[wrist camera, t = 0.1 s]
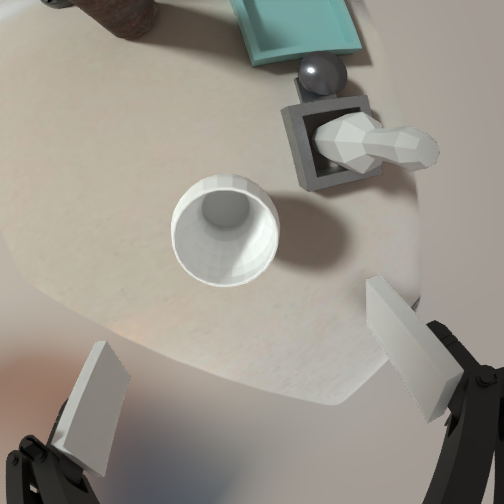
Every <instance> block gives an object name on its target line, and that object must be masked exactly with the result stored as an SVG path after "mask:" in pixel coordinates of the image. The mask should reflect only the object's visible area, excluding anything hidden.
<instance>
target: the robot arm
mask: <svg viewBox="0 0 504 504" xmlns="http://www.w3.org/2000/svg"><path fill="white" fill-rule="evenodd" d="M41 1H42V2H43V3H44V4H46V5H47V6H49V7H51V8H63V7H67V6H70V5H72V4H73V3H71V2H70V1H69V0H41ZM366 309H367V326H368V327H369V329H370V330H371V332H372V333H373V335H374V336H375V338H376V339H377V341H378V342H379V344H380V346H381V347H382V349H383V350H384V352H385V353H386V355H387V357H388V358H389V360H390V361H391V363H392V364H393V366H394V368H395V369H396V371H397V373H398V374H399V376H400V377H401V379H402V381H403V382H404V384H405V386H406V387H407V389H408V391H409V392H410V394H411V396H412V397H413V399H414V401H415V402H416V404H417V406H418V408H419V409H420V411H421V413H422V415H423V416H424V418H425V420H426V422H427V423H429V422H431V421H433V420H434V419H436V418H438V417H440V416H441V415H443V414H444V412H445V410H446V408H447V406H448V408H449V409H450V411H451V414H450V415H449V417H448V419H447V421H446V423H445V426H447V424H448V426H447V431H446V435H445V438H444V442H443V446H442V450H441V453H440V456H439V460H438V463H437V466H436V469H435V472H434V475H433V478H432V480H431V483H430V486H429V488H428V491H427V493H426V496H425V498H424V501H423V503H422V504H481V502H482V499H483V495H484V492H485V489H486V485H487V481H488V477H489V473H490V468H491V464H492V459H493V453H494V452H495V488H494V503H493V504H504V367H502V368H499V369H494V368H493V367H492V366H488V365H480V364H479V363H478V362H477V361H476V360H475V358H474V357H473V356H472V355H471V354H470V353H469V351H467V349H466V348H465V347H464V346H463V345H462V344H461V342H460V341H458V339H457V338H456V337H455V336H454V335H452V332H450V330H449V329H448V328H447V327H446V326H445V325H443V324H441V323H439V322H438V321H436V320H434V321H432V322H430V323H428V324H425V323H424V322H423V321H422V320H421V319H420V318H419V316H418V315H417V314H416V313H415V312H414V311H413V310H412V309H411V308H410V306H409V305H408V304H407V303H406V302H405V301H404V300H403V299H402V298H401V297H400V296H399V295H398V293H397V292H396V291H395V290H394V289H393V288H392V287H391V286H390V285H389V284H388V283H387V282H386V281H385V280H384V279H383V278H382V277H381V276H380V275H378V276H375V277H372V278H369V279H366ZM130 377H131V376H130V374H129V373H128V372H127V370H126V369H125V368H124V366H123V365H122V363H121V362H120V360H119V359H118V357H117V356H116V354H115V353H114V351H113V350H112V348H111V347H110V345H109V343H108V342H107V341H100V342H96V343H95V345H94V347H93V348H92V351H91V352H90V354H89V356H88V358H87V361H86V363H85V365H84V367H83V369H82V371H81V373H80V375H79V377H78V379H77V382H76V384H75V386H74V388H73V390H72V393H71V395H70V397H69V398H68V399H67V400H66V401H65V402H64V404H63V405H62V407H61V409H60V411H59V414H58V415H59V416H57V418H56V422H55V423H54V426H53V428H52V431H51V434H50V436H49V439H48V442H47V444H46V446H45V445H44V444H43V443H42V442H40V441H39V440H38V439H37V438H36V437H35V436H33V435H28V436H25V437H24V438H23V439H22V440H21V442H20V445H19V451H18V450H13V451H12V452H10V453H9V454H8V457H7V461H6V499H7V504H100V503H99V501H98V499H97V498H96V496H95V494H94V492H93V490H92V488H91V486H90V484H89V482H88V479H87V478H86V476H85V475H84V474H82V473H83V470H85V471H87V472H88V473H90V474H91V475H94V476H100V477H105V472H106V468H107V463H108V458H109V454H110V450H111V446H112V442H113V438H114V434H115V429H116V426H117V422H118V419H119V415H120V411H121V408H122V404H123V401H124V397H125V394H126V391H127V387H128V384H129V381H130ZM30 485H32V486H33V487H34V488H36V489H37V493H35V492H33V491H32V490H30Z"/></svg>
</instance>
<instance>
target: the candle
mask: <svg viewBox="0 0 504 504" xmlns="http://www.w3.org/2000/svg"><path fill="white" fill-rule="evenodd" d="M69 1H70V2H71V3H73V4H74V5H75V6H77V7H79V8H80V9H81V10H83V11H84V12H85V13H86V14H88V15H89V16H91V17H92V18H93V19H94V20H96V21H97V22H98V23H100V24H101V25H102V26H103V27H104V28H106V29H107V30H108V31H110V32H111V33H112V34H114V35H115V36H116V37H118V38H124V39H129V38H134V37H138V36H140V35H141V34H143V33H145V32H146V31H147V30H149V29H150V28H151V27H152V26H153V25H154V23H155V22H156V21H157V19H158V16H159V9H158V6H157V5H156V3H155V1H154V0H69Z"/></svg>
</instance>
